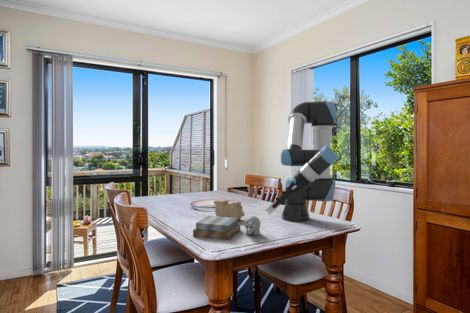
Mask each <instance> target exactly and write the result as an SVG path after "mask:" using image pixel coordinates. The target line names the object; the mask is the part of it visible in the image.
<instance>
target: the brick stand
mask: <svg viewBox="0 0 470 313" xmlns="http://www.w3.org/2000/svg"><path fill="white" fill-rule="evenodd" d="M240 231H241V223H239V220H238V218H231V217H219V216H215V215H208V216H205V218H202V219H201V220H198V221H196V222H195V228H193V229H192V236H193V237H194V238H206V239H212V240H213V239H215V240H224V241H231V239H232V238H233V237H234V236H235V235H236V234H238V233H239V232H240Z"/></svg>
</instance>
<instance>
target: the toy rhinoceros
mask: <svg viewBox="0 0 470 313" xmlns="http://www.w3.org/2000/svg"><path fill="white" fill-rule="evenodd" d="M244 225H245V230H246V231H245V235H247V236H251V235H253V236H255V237H257V236H259V235H260V233H261V231H260V228H261V220H260V219H259V217H257V216H255V215H251V216H248V217H247V218H246V219H245V221H244Z"/></svg>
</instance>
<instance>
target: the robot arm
mask: <svg viewBox="0 0 470 313" xmlns="http://www.w3.org/2000/svg"><path fill="white" fill-rule="evenodd" d="M287 122H288V125H289V126H288V134H287V141H286V149H281V152H280V163H281V165H282V166H285V167H286V166H288V167H301V168H300V170H297V171H296V173H295V174H293V177H289V178H286V180H285V186H284V188H285V191H284V192H283V193H282V194H281V195H280V196H278V197H275V200H274V201H273V202H272V203H271V204H270V205H269V206H268V207H267V208H265V212H266V213H267V214H268V215H271V214H273V212H275V210H277V209H278V208H279V207H280V206H281V205H282V204H283V203H284V207H283V210H282V213H281V219H282V220H285V221H288V222H295V223H296V222H297V223H298V222H299V223H300V222H307V221H310V213H309V209H308V206H307V201H309V202H310V201H311V202H323V203H325V202H332V201H333V200H334V196H335V190H336V180H335V179H334V177H333V176H332V175H331V166H332V165H333V164H335V162H336V161H337V160H338V159H339V154H337V153H336V152H335V151H334V150H333V149H332V148H331V140H332V139H331V138H332V137H331V135H332V134H331V131H332V129H333V128H334V126H335V125H334V124H336V123H337V122H338V121H337V110H336V104H335V103H334V102H333V101H323V100H322V101H304V102H301V103H299V104H297V105H296V106H294V108H293V109H292V110H291V111H290V112H289V115H288V120H287ZM306 124H311V128H312V129H313V132H314V135H313V149H303V148H304V136H305V134H304V133H305V125H306Z"/></svg>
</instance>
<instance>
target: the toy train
mask: <svg viewBox="0 0 470 313" xmlns="http://www.w3.org/2000/svg"><path fill="white" fill-rule="evenodd" d="M213 204H214V207H215V208H214V209H215V211H214V214H215V215H216V216H219V217H231V218H238V221H239V220H241V219H242V218H243V217H245V215H246V214H245V212H244V211H243V205H242V201H240V200H239V201H238V200H237V201H235V202H230V203H229V200H228V199H216V200H214V201H213Z"/></svg>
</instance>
